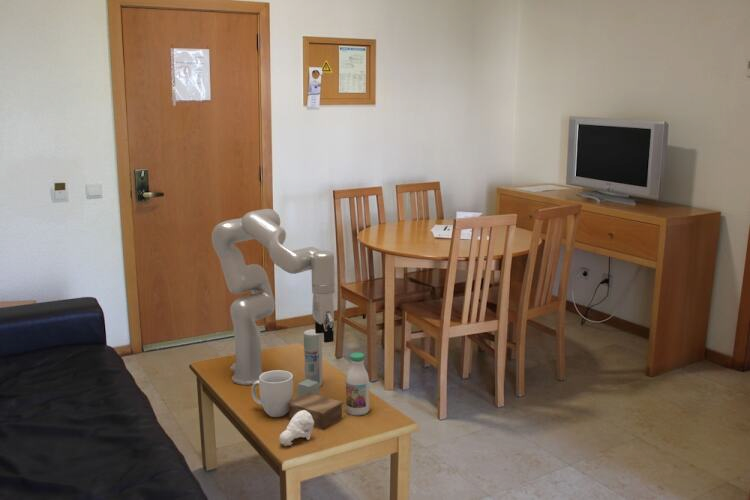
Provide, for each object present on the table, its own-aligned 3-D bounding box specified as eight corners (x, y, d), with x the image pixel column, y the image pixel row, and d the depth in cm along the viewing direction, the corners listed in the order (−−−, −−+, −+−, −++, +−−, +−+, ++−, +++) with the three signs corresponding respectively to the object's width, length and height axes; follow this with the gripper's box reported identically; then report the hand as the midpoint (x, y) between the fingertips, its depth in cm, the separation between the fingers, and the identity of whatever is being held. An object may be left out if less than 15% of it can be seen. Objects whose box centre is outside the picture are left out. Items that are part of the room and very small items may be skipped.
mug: (244, 415, 240) (242, 378, 237) (261, 402, 250) (259, 366, 247) (284, 422, 234) (282, 384, 232) (299, 409, 244) (298, 372, 241)
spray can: (302, 386, 263) (300, 334, 259) (308, 380, 269) (307, 328, 265) (319, 388, 261) (318, 335, 257) (325, 381, 267) (324, 330, 263)
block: (298, 399, 252) (297, 383, 251) (307, 395, 256) (307, 379, 255) (309, 403, 249) (308, 386, 248) (318, 398, 253) (318, 382, 252)
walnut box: (288, 420, 237) (287, 402, 235) (308, 408, 245) (308, 392, 244) (323, 431, 229) (322, 413, 228) (342, 419, 237) (342, 401, 236)
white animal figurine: (315, 411, 222) (286, 428, 214) (317, 435, 225) (289, 453, 216) (300, 405, 226) (272, 421, 218) (303, 429, 229) (275, 447, 220)
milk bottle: (353, 404, 247) (352, 349, 243) (373, 408, 244) (372, 352, 240) (342, 413, 241) (341, 356, 236) (362, 417, 237) (362, 360, 233)
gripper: (305, 283, 246) (306, 331, 250) (320, 296, 231) (321, 347, 234) (326, 281, 249) (327, 328, 253) (342, 293, 233) (343, 344, 237)
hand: (324, 337), depth 243 cm, fingers open, 9 cm apart
